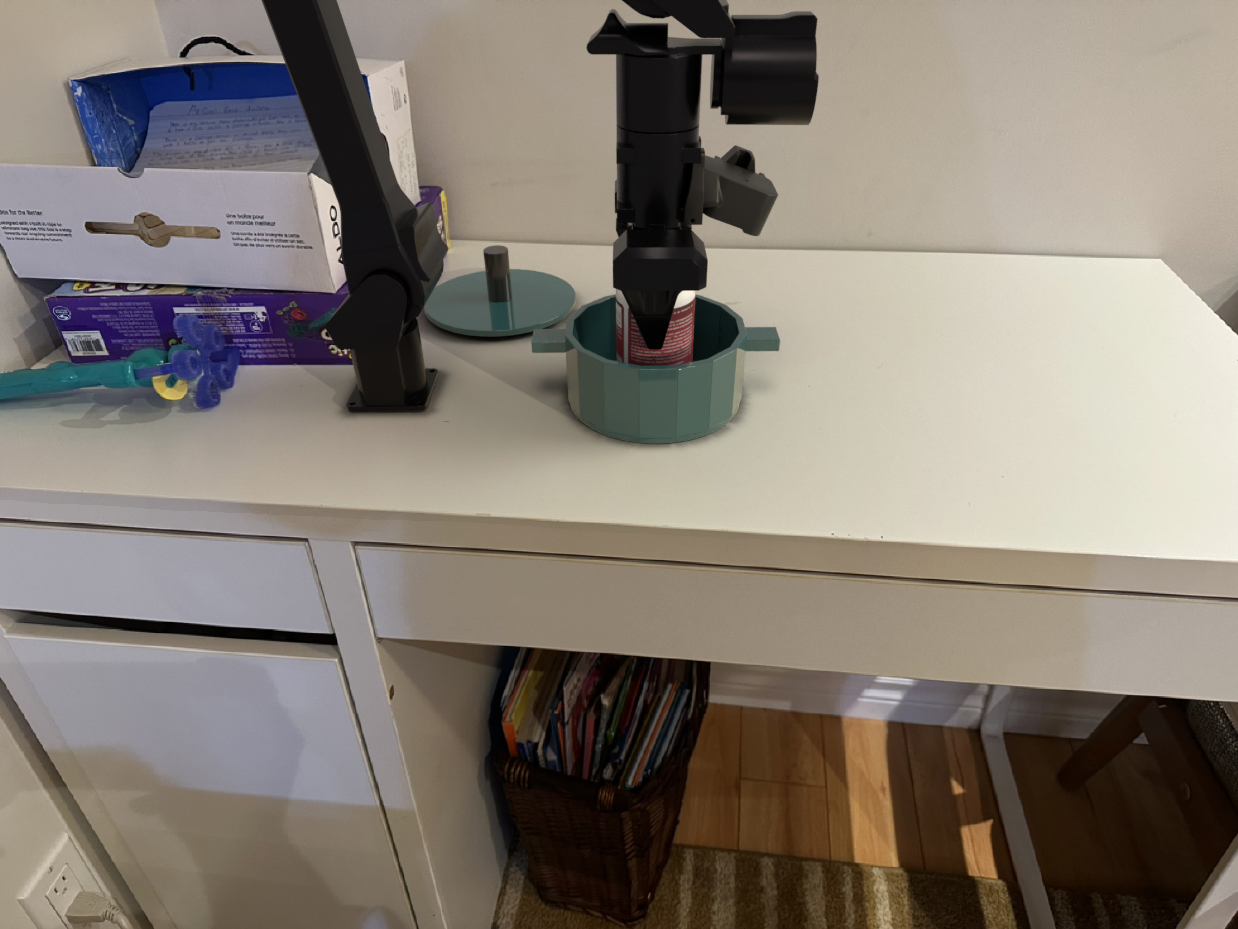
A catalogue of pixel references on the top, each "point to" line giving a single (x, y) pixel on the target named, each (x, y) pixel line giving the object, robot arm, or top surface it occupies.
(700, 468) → the top surface
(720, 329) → the teal cooking pot
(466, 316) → the lid
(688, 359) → the pill bottle
